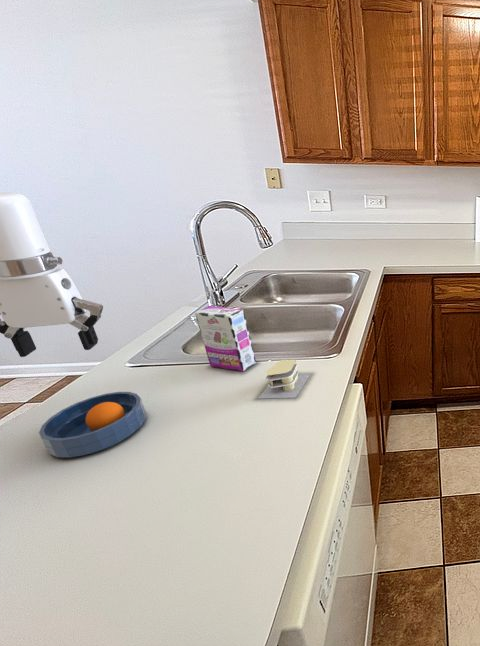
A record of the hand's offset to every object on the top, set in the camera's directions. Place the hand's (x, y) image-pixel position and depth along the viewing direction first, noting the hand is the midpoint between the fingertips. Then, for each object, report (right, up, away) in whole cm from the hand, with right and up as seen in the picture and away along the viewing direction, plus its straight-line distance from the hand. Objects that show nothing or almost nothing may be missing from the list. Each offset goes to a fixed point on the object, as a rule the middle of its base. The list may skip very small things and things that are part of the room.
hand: (60, 350), depth 76 cm
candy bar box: (+13, -9, +33) cm, 36 cm away
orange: (+2, -15, +7) cm, 17 cm away
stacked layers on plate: (+32, -12, +23) cm, 42 cm away
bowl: (+1, -19, +8) cm, 20 cm away
